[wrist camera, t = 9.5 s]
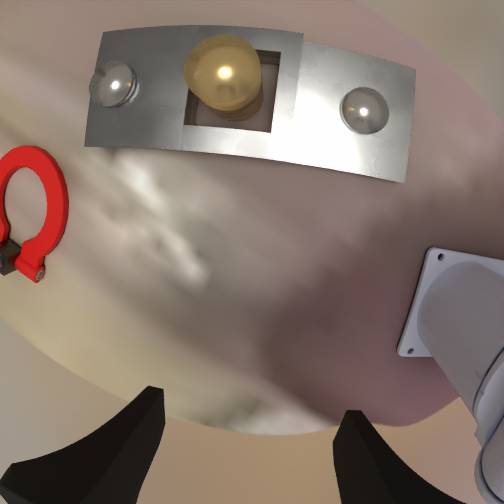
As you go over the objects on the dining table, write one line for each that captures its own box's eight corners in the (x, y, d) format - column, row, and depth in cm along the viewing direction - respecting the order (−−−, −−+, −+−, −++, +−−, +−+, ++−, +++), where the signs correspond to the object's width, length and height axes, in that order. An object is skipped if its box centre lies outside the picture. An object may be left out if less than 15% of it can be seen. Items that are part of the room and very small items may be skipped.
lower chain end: (407, 73, 15) (420, 66, 14) (396, 182, 17) (408, 184, 16) (191, 40, 16) (183, 29, 14) (175, 150, 18) (165, 149, 16)
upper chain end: (299, 48, 16) (304, 29, 13) (285, 161, 18) (288, 161, 15) (119, 43, 16) (98, 29, 13) (104, 147, 18) (78, 146, 15)
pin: (266, 75, 16) (264, 38, 10) (259, 124, 17) (254, 106, 11) (214, 70, 16) (190, 33, 10) (207, 118, 17) (178, 100, 11)
